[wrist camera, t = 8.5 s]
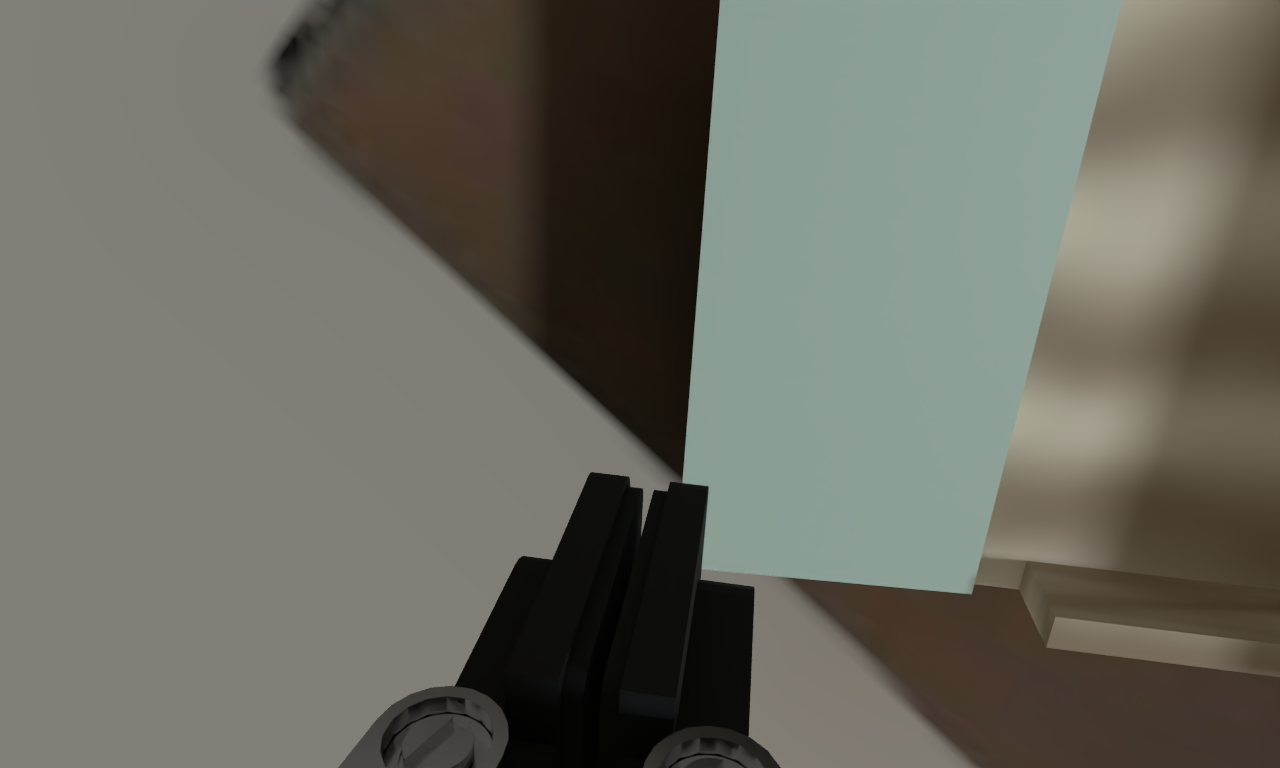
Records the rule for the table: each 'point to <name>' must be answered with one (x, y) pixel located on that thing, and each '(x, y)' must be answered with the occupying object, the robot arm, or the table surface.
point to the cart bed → (1160, 360)
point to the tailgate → (878, 273)
